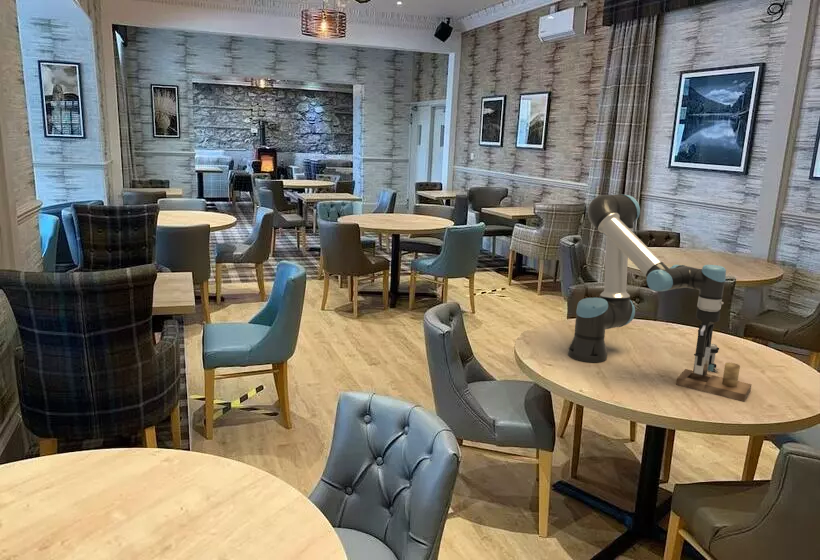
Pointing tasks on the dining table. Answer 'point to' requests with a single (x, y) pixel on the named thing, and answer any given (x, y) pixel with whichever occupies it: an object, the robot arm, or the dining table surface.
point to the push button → (712, 358)
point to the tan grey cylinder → (706, 362)
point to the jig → (717, 382)
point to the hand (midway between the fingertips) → (700, 371)
